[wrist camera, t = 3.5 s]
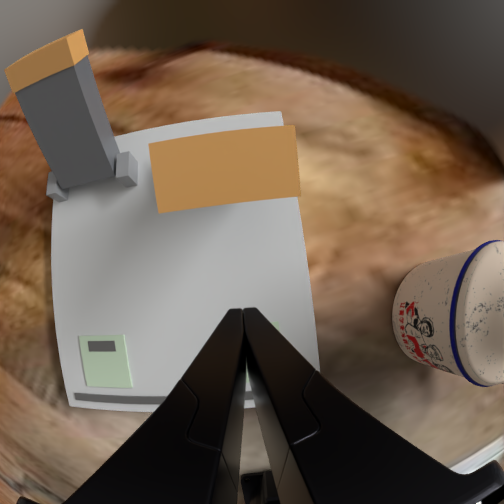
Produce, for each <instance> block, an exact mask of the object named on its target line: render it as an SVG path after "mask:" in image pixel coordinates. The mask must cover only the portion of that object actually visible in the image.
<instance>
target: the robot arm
mask: <svg viewBox="0 0 504 504" xmlns="http://www.w3.org/2000/svg"><path fill="white" fill-rule="evenodd" d="M246 364H247V367H246ZM247 373H248V378H249V382H250V386H251V390H252V394H253V399H254V403H255V407H256V411H257V415H258V419H259V423H260V427H261V431H262V435H263V439H264V443H265V447H266V451H267V454H268V458H269V462H270V466H271V471H265V472H259V473H248V474H244V475H242V476H241V484H242V489H243V494H244V499H245V504H504V471H503V469H502V467H501V466H500V465H499V463H498V462H497V461H496V460H493V461H491V462H489V463H488V464H486V465H485V466H483V467H481V468H480V469H478V470H476V471H475V472H473V473H470V474H458V473H456V472H454V471H452V470H450V469H449V468H447V467H446V466H444V465H443V464H441V463H440V462H438V461H437V460H435V459H433V458H432V457H430V456H429V455H427V454H426V453H424V452H423V451H421V450H420V449H418V448H417V447H416V446H414V445H413V444H411V443H410V442H408V441H407V440H405V439H404V438H402V437H401V436H400V435H398V434H397V433H395V432H394V431H392V430H391V429H390V428H388V427H387V426H385V425H384V424H383V423H381V422H380V421H378V420H377V419H376V418H374V417H373V416H372V415H370V414H369V413H367V412H366V411H365V410H363V409H362V408H361V407H359V406H358V405H357V404H355V403H354V402H353V401H351V400H350V399H349V398H348V397H346V396H345V395H344V394H343V393H341V392H340V391H339V390H338V389H336V388H335V387H334V386H333V385H332V384H331V383H330V382H329V381H328V380H327V379H326V378H325V377H324V376H323V375H322V374H321V373H320V372H319V371H318V370H316V369H315V368H314V367H313V366H312V365H311V364H310V363H309V362H308V361H307V360H306V359H305V358H304V357H303V356H302V355H301V353H300V352H299V351H298V350H297V349H296V348H295V347H294V346H293V345H292V344H291V343H290V342H289V341H288V340H287V339H286V338H285V337H284V336H283V335H282V334H281V333H280V332H279V331H278V330H277V329H276V328H275V327H274V326H273V324H272V323H271V322H270V321H269V320H268V319H267V318H266V317H265V316H264V315H263V314H262V313H261V312H260V311H259V310H258V309H257V308H256V307H248V308H243V310H242V308H231V309H229V310H228V311H227V312H226V314H225V315H224V317H223V318H222V320H221V321H220V323H219V324H218V325H217V327H216V328H215V330H214V331H213V333H212V334H211V336H210V337H209V338H208V340H207V341H206V343H205V344H204V346H203V347H202V348H201V350H200V351H199V353H198V354H197V356H196V357H195V358H194V360H193V361H192V363H191V364H190V366H189V367H188V368H187V370H186V371H185V373H184V374H183V376H182V377H181V379H180V380H179V381H178V382H177V383H176V385H175V386H174V388H173V389H172V390H171V392H170V393H169V394H168V396H167V397H166V398H165V400H164V401H163V402H162V403H161V404H160V405H159V407H158V408H157V409H156V410H155V411H154V412H153V413H152V414H151V416H150V417H149V418H148V419H147V420H146V421H145V422H144V423H143V424H142V425H141V426H140V427H139V428H138V429H137V430H136V431H135V432H134V433H133V434H132V435H131V436H130V437H129V438H128V439H127V440H126V442H125V443H124V444H123V445H122V446H121V447H120V448H119V449H118V450H117V451H116V452H115V453H114V454H113V455H112V456H111V457H110V458H109V459H108V460H107V461H106V462H105V463H104V464H103V465H102V466H101V467H100V468H99V469H98V470H97V471H96V472H95V473H94V474H93V475H92V476H91V477H90V478H89V479H88V480H87V481H86V482H85V483H84V484H82V485H81V486H80V487H79V488H78V489H77V490H76V491H75V492H74V493H73V494H72V495H71V496H70V497H69V498H68V499H67V500H66V501H65V502H63V503H62V504H237V495H238V494H237V492H238V482H239V469H240V456H241V443H242V430H243V417H244V404H245V391H246V376H247ZM246 478H249V479H250V480H245V479H246ZM16 504H40V503H37V502H35V501H32V500H30V499H28V498H26V497H23V496H21V497H19V499H18V501H17V503H16Z"/></svg>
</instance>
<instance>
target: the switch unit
mask: <svg viewBox="0 0 504 504" xmlns="http://www.w3.org/2000/svg"><path fill="white" fill-rule="evenodd" d="M272 126H284V124H283V119H282V115H281V111H278V112H264V113H252V114H242V115H233V116H224V117H216V118H209V119H202V120H195V121H189V122H183V123H177V124H172V125H166V126H161V127H156V128H151V129H146V130H142V131H137V132H133V133H128V134H124V135H120V136H116V137H114V138H115V141H116V143H117V146H118V149H119V151H120V153H118V154H117V163H116V176H115V177H111V178H106V179H102V180H98V181H93V182H89V183H85V184H81V185H77V186H73V187H69V188H65V189H62V188H61V186H60V185H59V183H58V181H57V179H56V177H55V176H54V174H53V172H49V175H48V183H47V193H46V195H47V196H49V197H50V198H52V199H53V213H52V238H51V267H52V292H53V306H54V317H55V327H56V335H57V342H58V349H59V356H60V362H61V368H62V373H63V378H64V383H65V388H66V393H67V397H68V401H69V405H70V406H73V407H82V408H91V409H102V410H115V411H133V412H154V411H155V410H156V409H157V408H158V407H159V405H160V404H161V403H162V402H163V401H164V400H165V398H166V397H167V396H168V394H169V393H170V392H171V390H172V389H173V388H174V386H175V385H176V383H177V382H178V381H179V380H180V379H181V377H182V376H183V374H184V373H185V371H186V370H187V368H188V367H189V366H190V364H191V363H192V361H193V360H194V358H195V357H196V356H197V354H198V353H199V351H200V350H201V348H202V347H203V346H204V344H205V343H206V341H207V340H208V338H209V337H210V336H211V334H212V333H213V331H214V330H215V328H216V327H217V325H218V324H219V323H220V321H221V320H222V318H223V317H224V315H225V314H226V312H227V311H228V310H229V309H231V308H242V310H243V308H248V307H256V308H257V309H258V310H259V311H260V312H261V313H262V314H263V315H264V316H265V317H266V318H267V319H268V320H269V321H270V322H271V323H272V324H273V326H274V327H275V328H276V329H277V330H278V331H279V332H280V333H281V334H282V335H283V336H284V337H285V338H286V339H287V340H288V341H289V342H290V343H291V344H292V345H293V346H294V347H295V348H296V349H297V350H298V351H299V352H300V353H301V355H302V356H303V357H304V358H305V359H306V360H307V361H308V362H309V363H310V364H311V365H312V366H313V367H314V368H315V369H316V370H318V371H319V372H320V366H319V355H318V345H317V336H316V327H315V318H314V310H313V301H312V293H311V286H310V278H309V271H308V264H307V257H306V250H305V243H304V236H303V230H302V223H301V217H300V211H299V205H298V199H297V197H288V198H278V199H269V200H259V201H250V202H242V203H233V204H225V205H217V206H209V207H202V208H194V209H187V210H180V211H173V212H166V213H160V214H159V213H158V207H157V201H156V195H155V189H154V182H153V175H152V168H151V161H150V154H149V146H148V144H149V143H154V142H159V141H164V140H170V139H176V138H181V137H188V136H194V135H201V134H207V133H215V132H223V131H231V130H240V129H249V128H260V127H272ZM246 367H247V364H246ZM253 407H255V403H254V399H253V394H252V390H251V386H250V382H249V378H248V373H247V376H246V391H245V404H244V408H253Z"/></svg>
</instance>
